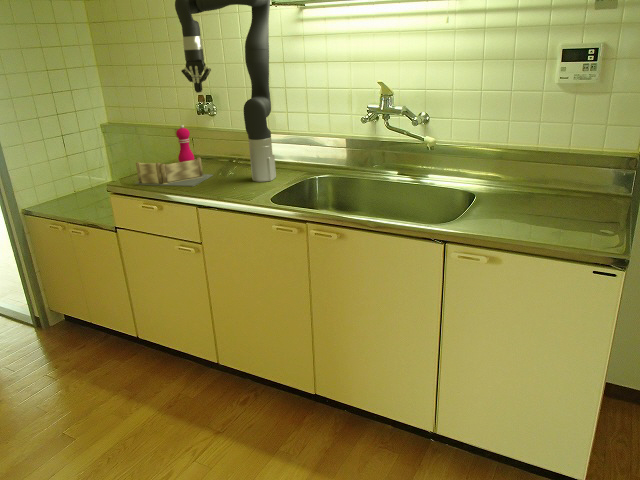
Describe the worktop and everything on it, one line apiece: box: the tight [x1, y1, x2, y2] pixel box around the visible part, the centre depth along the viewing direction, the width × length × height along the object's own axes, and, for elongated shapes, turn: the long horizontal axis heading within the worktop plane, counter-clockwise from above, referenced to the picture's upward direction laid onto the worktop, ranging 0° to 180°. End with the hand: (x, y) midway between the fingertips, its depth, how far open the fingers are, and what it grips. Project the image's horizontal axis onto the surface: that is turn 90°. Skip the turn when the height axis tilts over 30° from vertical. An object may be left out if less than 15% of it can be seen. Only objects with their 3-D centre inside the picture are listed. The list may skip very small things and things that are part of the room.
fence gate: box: [160, 157, 204, 183], centre depth 229 cm, size 17×2×8 cm, turn 122°
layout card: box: [133, 173, 214, 188], centre depth 233 cm, size 28×18×1 cm, turn 74°
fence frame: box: [135, 161, 163, 184], centre depth 227 cm, size 11×2×9 cm, turn 74°
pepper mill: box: [175, 124, 196, 163], centre depth 250 cm, size 7×7×20 cm
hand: (198, 92), depth 228 cm, fingers closed
